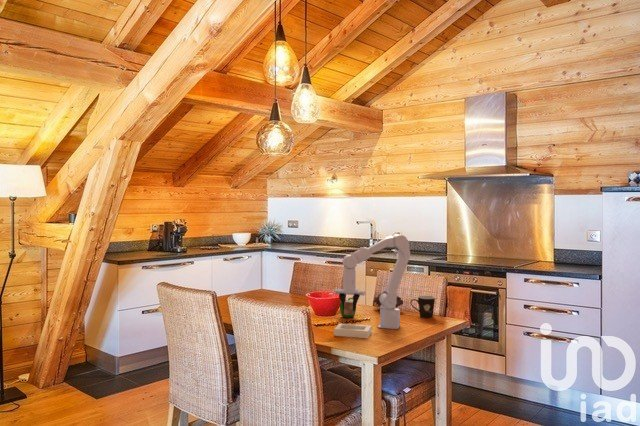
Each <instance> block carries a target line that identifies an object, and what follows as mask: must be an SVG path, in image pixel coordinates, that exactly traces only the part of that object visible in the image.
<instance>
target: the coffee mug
mask: <svg viewBox="0 0 640 426" xmlns="http://www.w3.org/2000/svg"><path fill="white" fill-rule="evenodd" d="M413 301H416V302H417V304H418V308H417V307H415V306H414V305H413V304H412V303H413ZM435 301H436V296H432V295H418V296H417V299H415V298H413V299H411V301H410V306H411V307H412V308H414V309H415V310H417V312H419V317H420V318H422V319H431V318H433V317H434V310H435V304H436V303H435Z"/></svg>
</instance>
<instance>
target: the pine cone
mask: <svg viewBox="0 0 640 426" xmlns="http://www.w3.org/2000/svg"><path fill="white" fill-rule="evenodd" d="M381 293H383V291H382V292H380V293H379V294H378V295H377V296H376V297H374V298H373V299H374V300H373V301H372V302H373V303H376V305H377V307H378V308H380V306H381V303H380V301H379V296H380V295H381ZM396 300H397V303H396V306H395V308H398V307H400V306H403V305H404V300H403V299H402V298H401V297H400V296H398V295H397V298H396Z"/></svg>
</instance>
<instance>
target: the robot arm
mask: <svg viewBox="0 0 640 426" xmlns="http://www.w3.org/2000/svg"><path fill="white" fill-rule="evenodd" d="M385 248H394V249H395V250H396V252H397V259H396V262H395V264H394V267H393V269H392V271H391V275H390V278H389V280H388V283H387V285H386V286H385V288H384V289H383V291H382V292H383V293H382V292H380V293H381V295H380V296H379V301H380V303H381V306H380V307H379V325H378V326H377V328H378V329H380V328H381V329H390V330H391V329H393V330H398V329H399V328H400V326H401V309H400V308H398V307H395V306H396V303H397V300H396V298H397V296H398V291H399V290H398V289H399V287H400V284H401V282H402V279H403V276H404V273H405V270H406V268H407V265H408V263H409V260H410V259H411V249H410V241H409V240H408V238H407V237H406V236H405V235H403V234H400V233H393V234H392V235H387V236H386V237H384V238H382V239H381V240H379V241H377V242H375V243H374V244H372V245H371V246H369V247H366V246H363V247H362V246H361V247H359V248H358V249H357V250H356V251H354V252H350V253H349V254H347V255H344V257H343V258H342V261H341V262H342V265H343V272H342V274H343V276H342V280H343V283H342V284H343V286H342V287H343V288H342V289H341V288H339V289H337V288H335V289H333V295H338V298H339V300H340V303H341V302H342V306H343V310H344V302H345V301H346V300H347V295H352V298H353V300H352V301H353V311H355V308H356V309H357V303H358V301H359V299H360V296H363V297H364V296H366V291H365V290H360V289H356V285H357V284H356V283H357V282H356V272H357V271H356V267H357V265H359V264H361V263H363V262H365V261H366V260H368V259H370V258H371V255H372V254H375V253H376V252H379V251H380V250H381V251H382V250H383V249H385Z"/></svg>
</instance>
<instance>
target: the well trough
mask: <svg viewBox="0 0 640 426" xmlns="http://www.w3.org/2000/svg"><path fill="white" fill-rule="evenodd" d="M372 327H373V326H372V325H366V324H356V323H355V324H352V323H338V324H337V326H336V327H334V329H333V331H334V332H333V336H337V337H348V338H360V339H368V338H369V337H370V335H371V334H372V331H373V328H372Z"/></svg>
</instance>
